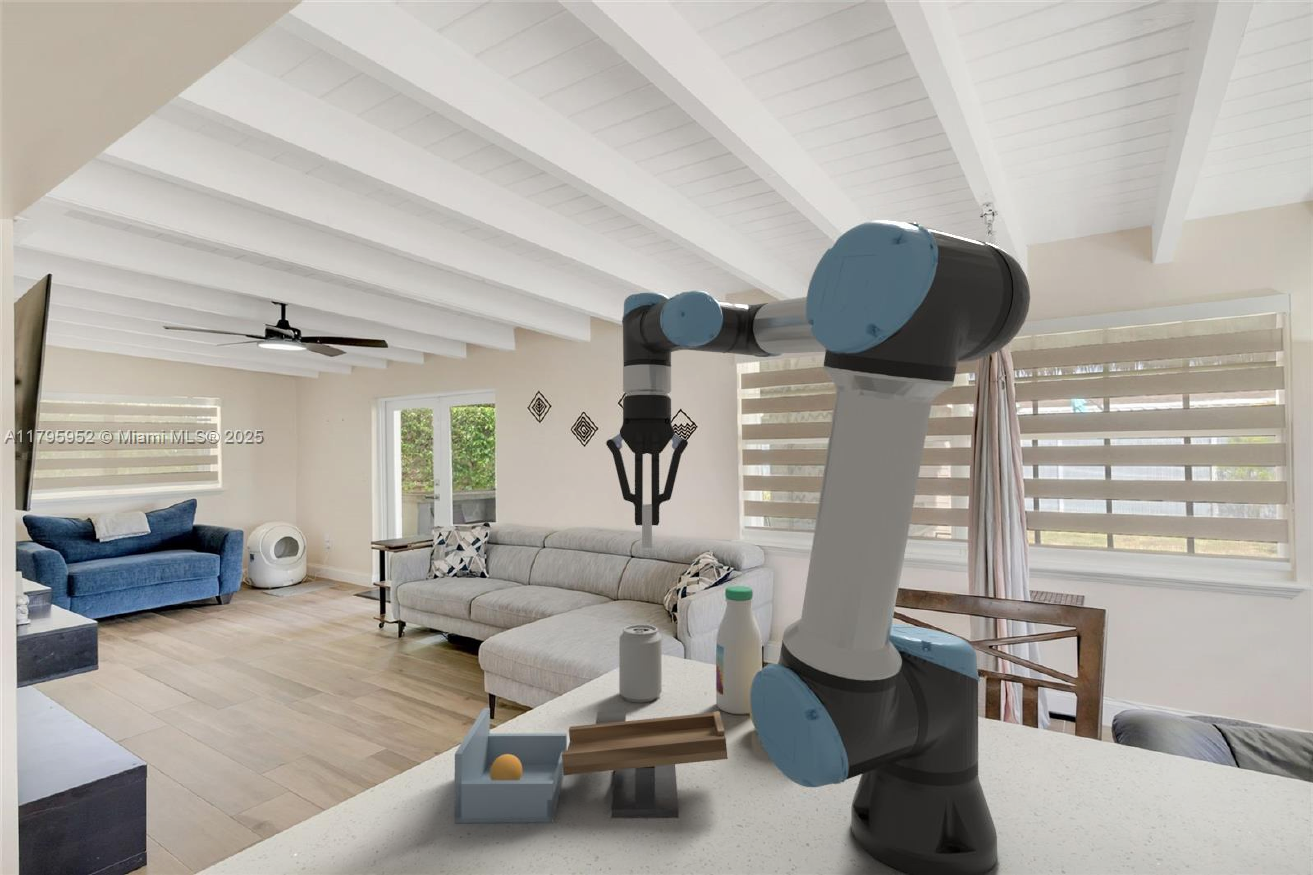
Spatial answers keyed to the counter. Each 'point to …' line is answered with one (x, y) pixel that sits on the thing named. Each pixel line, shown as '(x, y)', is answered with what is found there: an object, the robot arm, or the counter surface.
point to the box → (507, 797)
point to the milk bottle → (737, 651)
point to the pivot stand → (645, 793)
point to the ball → (506, 768)
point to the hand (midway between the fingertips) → (647, 546)
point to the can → (640, 663)
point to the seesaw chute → (643, 742)
